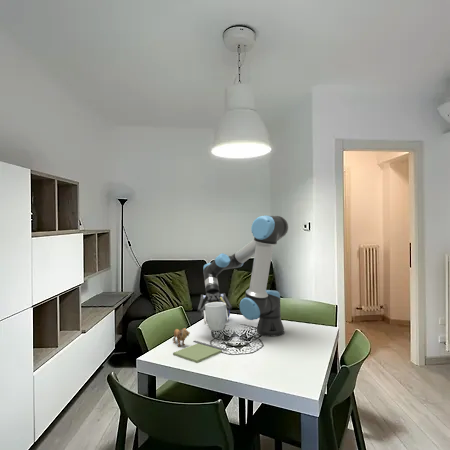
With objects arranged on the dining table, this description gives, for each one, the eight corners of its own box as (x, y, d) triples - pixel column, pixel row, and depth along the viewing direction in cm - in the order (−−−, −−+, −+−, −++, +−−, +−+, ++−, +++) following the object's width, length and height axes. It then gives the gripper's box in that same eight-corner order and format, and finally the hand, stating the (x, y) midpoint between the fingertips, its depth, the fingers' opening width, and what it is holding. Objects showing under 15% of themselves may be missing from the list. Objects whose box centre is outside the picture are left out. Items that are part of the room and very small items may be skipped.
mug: (207, 324, 187) (206, 301, 187) (227, 323, 187) (225, 300, 187) (205, 332, 172) (204, 306, 172) (227, 331, 172) (225, 305, 172)
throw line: (227, 350, 161) (227, 349, 161) (225, 350, 160) (225, 350, 160) (195, 341, 176) (195, 340, 176) (193, 341, 175) (193, 341, 175)
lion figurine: (191, 346, 168) (190, 328, 168) (181, 348, 165) (181, 330, 165) (176, 339, 180) (176, 322, 180) (167, 341, 177) (167, 324, 177)
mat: (221, 352, 159) (221, 350, 159) (197, 363, 147) (197, 360, 147) (197, 345, 169) (197, 343, 169) (173, 354, 157) (173, 352, 157)
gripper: (231, 289, 196) (237, 323, 180) (191, 292, 193) (193, 327, 177) (232, 281, 191) (239, 316, 175) (191, 284, 187) (194, 319, 172)
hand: (216, 321), depth 176 cm, fingers closed on mug, 11 cm apart
